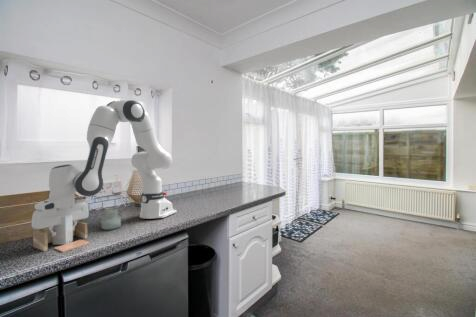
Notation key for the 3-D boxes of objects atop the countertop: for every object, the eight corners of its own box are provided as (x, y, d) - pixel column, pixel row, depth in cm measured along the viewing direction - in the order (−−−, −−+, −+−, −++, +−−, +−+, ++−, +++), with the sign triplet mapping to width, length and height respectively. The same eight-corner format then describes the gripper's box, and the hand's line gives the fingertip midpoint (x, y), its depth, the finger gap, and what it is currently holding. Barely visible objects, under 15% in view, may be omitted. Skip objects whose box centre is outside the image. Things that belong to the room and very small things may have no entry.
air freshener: (103, 226, 121) (103, 208, 121) (121, 224, 124) (121, 206, 124) (100, 233, 111) (100, 212, 111) (119, 230, 114) (119, 211, 114)
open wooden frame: (75, 234, 108) (75, 220, 108) (87, 238, 103) (87, 223, 103) (33, 246, 94) (33, 230, 94) (44, 251, 89) (44, 234, 89)
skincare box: (73, 241, 100) (73, 214, 100) (65, 244, 96) (65, 216, 96) (60, 240, 100) (59, 214, 100) (51, 244, 96) (51, 216, 96)
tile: (80, 240, 100) (80, 239, 100) (89, 243, 97) (89, 242, 97) (54, 249, 92) (54, 247, 92) (63, 252, 88) (63, 250, 88)
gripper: (84, 197, 109) (84, 225, 109) (29, 205, 91) (29, 239, 91) (91, 198, 106) (91, 227, 106) (36, 207, 88) (37, 242, 88)
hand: (62, 233), depth 98 cm, fingers closed on skincare box, 5 cm apart
